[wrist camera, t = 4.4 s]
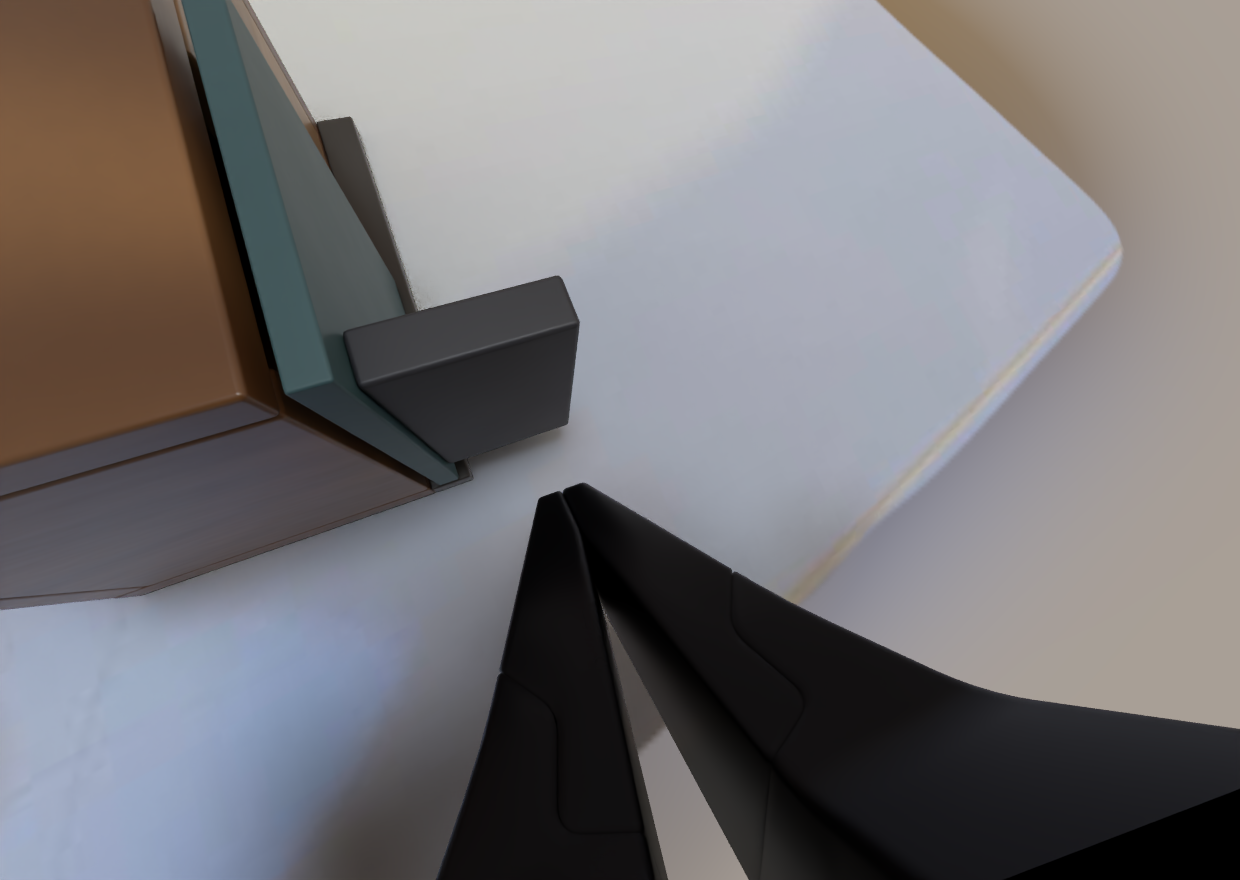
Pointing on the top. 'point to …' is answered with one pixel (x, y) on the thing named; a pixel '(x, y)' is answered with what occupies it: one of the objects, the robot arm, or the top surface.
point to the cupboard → (150, 321)
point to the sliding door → (370, 291)
